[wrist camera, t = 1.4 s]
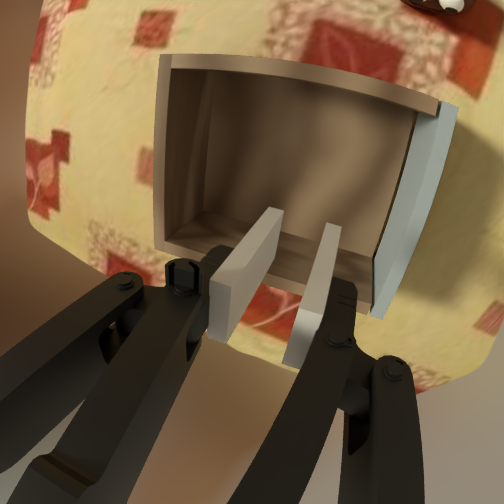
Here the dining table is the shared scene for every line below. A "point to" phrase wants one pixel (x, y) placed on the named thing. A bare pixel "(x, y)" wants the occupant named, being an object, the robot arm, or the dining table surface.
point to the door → (411, 203)
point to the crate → (277, 159)
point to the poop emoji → (443, 5)
